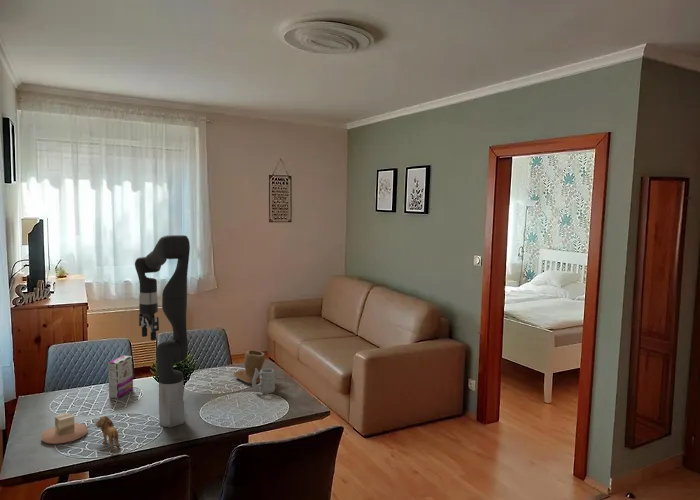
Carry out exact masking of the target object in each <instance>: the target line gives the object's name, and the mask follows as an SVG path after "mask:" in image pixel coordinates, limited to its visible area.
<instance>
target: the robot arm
mask: <svg viewBox="0 0 700 500" xmlns="http://www.w3.org/2000/svg"><path fill="white" fill-rule="evenodd" d="M190 246H191V245H190V240H189V237H188V236H187V235H182V234H181V235H180V234H178V235H177V234H175V235H173V234H170V235H168V234H167V235H162V237H160V238H159V239H158V241H157V243H156V244H155V246H154V248H153V250H152V251H151V252H149V253H148V254H147V255H146V256H140V257H137V258H136V259H135V261H134V267H135V270H136V274H137V278H138V283H139V294H138V295H139V296H138V302H139V303H138V306H139V307H138V308H139V309H138V310H139V311H138V326H139V327H140V328H141V337H143V338H144V337H146V338H147V337H148V329H149V331H150V341H152V342H153V341H157V332H158V331H160V324H159V323H160V321H159V317H158V316H157V317H156V315H155V314H157V313H158V311H159V309H158V307H159V305H158V303H159V301H158V299H159V298H158V281H157V279H156V278H154V277H147V275H146V274H149V273H150V274H152V273H158V272H159V271H160V270H161V268H162V266H163V265H164V264H165V263H166V262H167V260H177V263H176V266H175V267H176V268H175V270H174V272H173V274H172V275H171V277H170V279H169V280H168V281H167V283H166V285H165V286H164V287H163V290H162V296H161V297H162V298H161V304H162V305H161V307H162V311H163V313H164V316H165V317H166V319H167V320H168V322H169V323H170V324H171V328H172V340H167V341H162V342H159V344H158V345H157V347H156V350H155V352H156V353H155V354H156V355H155V359H156V373H157V377H158V414H159V415H158V417H159V418H158V421H159V422H158V424H159V426H161V427H165V428H173V427H176V426H180V425H182V424H185V400H184V373H183V372H182V371H181V370H176V369H174V367H173V365H174V364H178V363H181V362H184V361H185V360H186V359H187V357H188V352H189V348H188V347H189V345H188V334H187V333H188V331H187V307H188V272H189V271H188V270H189V261H190V250H191V249H190V248H191V247H190Z"/></svg>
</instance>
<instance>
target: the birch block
mask: <svg viewBox="0 0 700 500" xmlns="http://www.w3.org/2000/svg"><path fill="white" fill-rule="evenodd" d="M74 423H75V416H74V414H72V413H71V412H66V413H61V414H58V415H55V416H54V427H55V432H56V433H57V434H58V435H59V436H62V435H65V434H69V433H72V432H75V430H74Z"/></svg>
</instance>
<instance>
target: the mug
mask: <svg viewBox="0 0 700 500" xmlns="http://www.w3.org/2000/svg"><path fill="white" fill-rule="evenodd" d="M259 375H260V382H258V384H257V383H256V379H257V377H258V376H259ZM275 378H276V375H275V370H274V369H273V368H269V367H268V368H261V370H260V373H259V371H258V370H257V368H255V373H254V377H253V380H252V383H251V387H252V389H253V390H254V392H257V391H258V389H259V392H260V393H262V394H272V393H274V392H275V390H276V385H275Z"/></svg>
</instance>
